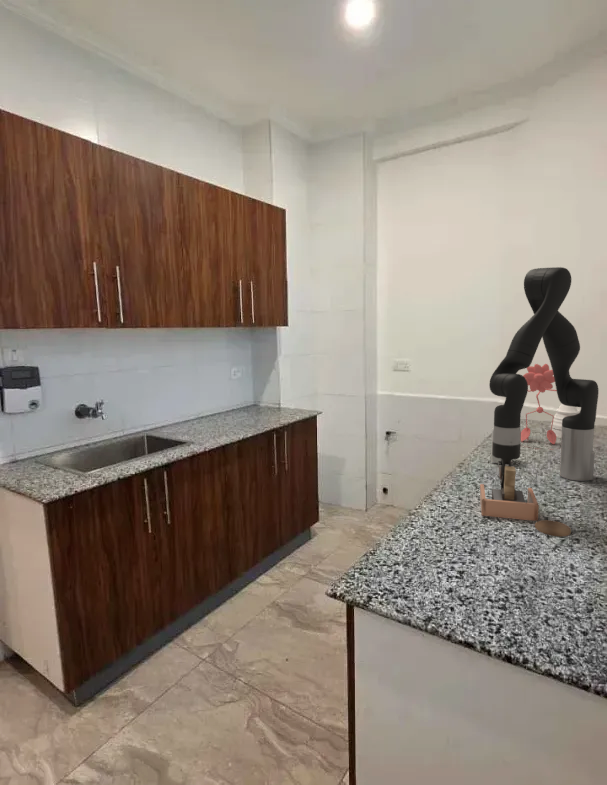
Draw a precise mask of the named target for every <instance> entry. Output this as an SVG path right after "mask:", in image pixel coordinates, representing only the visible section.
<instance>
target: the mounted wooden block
mask: <svg viewBox="0 0 607 785" xmlns="http://www.w3.org/2000/svg"><path fill="white" fill-rule="evenodd" d="M516 474H517V472H516V467H515V466H514V467H510V466H505V473H504V488H501V487H500V488H499V489H498V488H492V489H491V499H492V500H503V501H514V502H526V501H525V496H524V493H523V491H522V490H516Z"/></svg>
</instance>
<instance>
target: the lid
mask: <svg viewBox="0 0 607 785" xmlns="http://www.w3.org/2000/svg"><path fill="white" fill-rule="evenodd" d="M534 528H535V529H536V530H537V532H540V533H542V534H545V535H548V536H553V537H566V536H569V535H571V533H572V529H571V527H570V526H569V525H567V524H565V523H563V522H560V521H556V520H549V519H548V520H547V519H542V520H538V521H536V522H535V524H534Z"/></svg>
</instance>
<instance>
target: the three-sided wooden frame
mask: <svg viewBox="0 0 607 785" xmlns="http://www.w3.org/2000/svg"><path fill="white" fill-rule="evenodd" d="M536 497H537V496H536V495H535V493H534V490H533V488H532V487H528V488H527V502H526V501H525V502H514V501H503V500H492V498H486V490H485V484H484V483H480V484H479V502H480V513H481V516H483V517H493V518H503V519H504V518H505V519H512V520H514V519H515V520H523V521H524V520H525V521H533V522H534V521H536V522H537V521H539V509H540V508H539V506H540V504H539V503H538V500H537V498H536Z"/></svg>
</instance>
